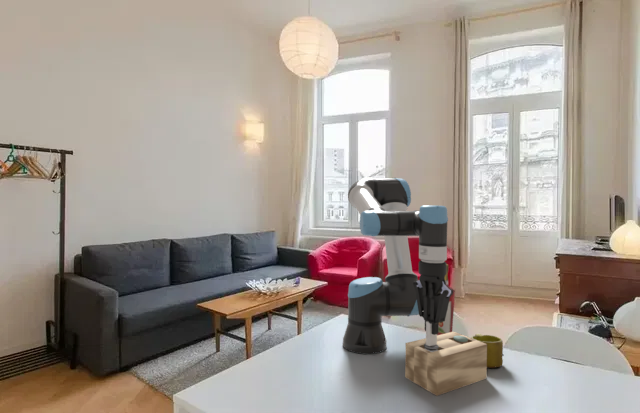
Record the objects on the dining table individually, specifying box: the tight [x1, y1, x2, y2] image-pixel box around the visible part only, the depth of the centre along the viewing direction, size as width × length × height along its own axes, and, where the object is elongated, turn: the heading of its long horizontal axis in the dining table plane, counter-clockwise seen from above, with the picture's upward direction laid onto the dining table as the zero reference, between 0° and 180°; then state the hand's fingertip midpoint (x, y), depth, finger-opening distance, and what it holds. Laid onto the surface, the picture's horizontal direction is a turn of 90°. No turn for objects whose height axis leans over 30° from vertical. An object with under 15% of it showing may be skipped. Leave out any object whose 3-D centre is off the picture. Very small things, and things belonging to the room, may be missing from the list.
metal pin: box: [424, 343, 439, 352], centre depth 109 cm, size 4×4×9 cm
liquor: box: [437, 264, 456, 335], centre depth 139 cm, size 7×7×28 cm
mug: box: [470, 333, 504, 369], centre depth 123 cm, size 12×10×10 cm
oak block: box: [404, 331, 488, 397], centre depth 112 cm, size 12×20×10 cm, turn 120°
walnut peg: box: [453, 335, 468, 344], centre depth 115 cm, size 4×4×9 cm
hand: (431, 344), depth 108 cm, fingers closed
